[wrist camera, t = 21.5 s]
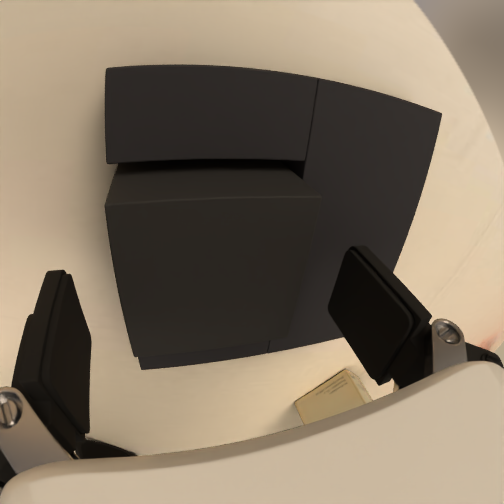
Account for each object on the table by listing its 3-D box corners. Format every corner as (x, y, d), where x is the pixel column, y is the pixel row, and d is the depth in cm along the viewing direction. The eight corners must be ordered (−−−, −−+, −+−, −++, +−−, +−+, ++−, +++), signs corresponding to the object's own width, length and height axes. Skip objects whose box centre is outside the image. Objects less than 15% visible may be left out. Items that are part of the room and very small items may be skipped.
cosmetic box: (344, 367, 26) (408, 475, 17) (359, 377, 29) (416, 471, 19) (291, 403, 27) (340, 510, 18) (311, 409, 30) (357, 503, 20)
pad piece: (119, 158, 11) (104, 204, 8) (274, 155, 13) (322, 196, 10) (132, 287, 15) (134, 358, 11) (257, 276, 17) (288, 337, 13)
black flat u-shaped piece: (115, 68, 9) (105, 68, 7) (408, 102, 13) (442, 113, 11) (139, 336, 17) (141, 370, 15) (348, 306, 21) (366, 331, 19)
